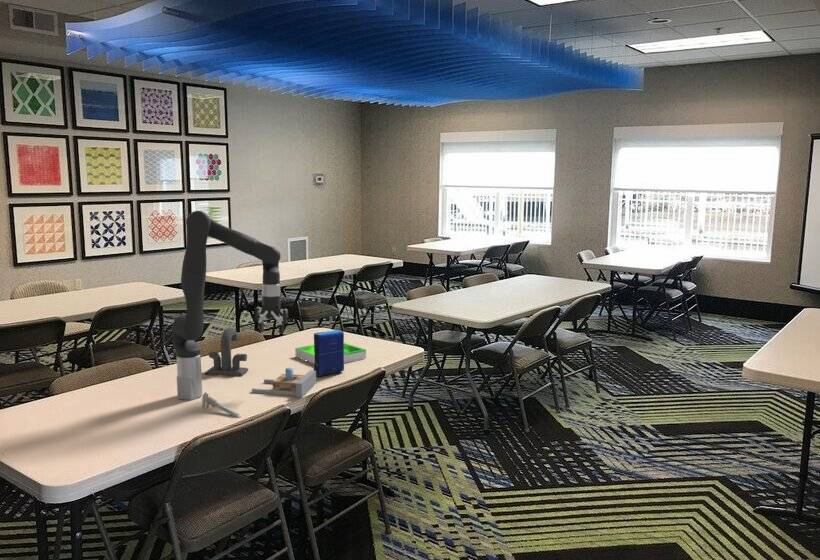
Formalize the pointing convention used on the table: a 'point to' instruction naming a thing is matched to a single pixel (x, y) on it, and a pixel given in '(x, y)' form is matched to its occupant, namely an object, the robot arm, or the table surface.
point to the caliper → (217, 405)
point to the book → (329, 352)
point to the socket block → (286, 383)
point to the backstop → (301, 386)
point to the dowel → (289, 373)
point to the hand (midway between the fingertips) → (271, 332)
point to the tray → (349, 353)
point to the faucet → (227, 357)
